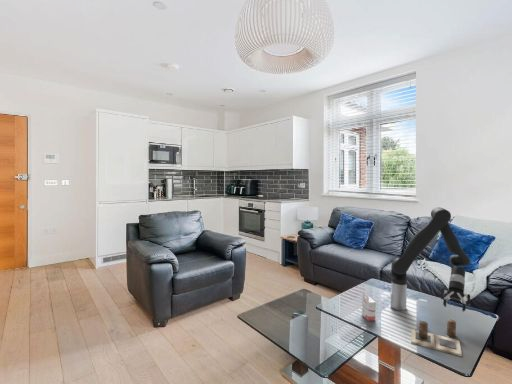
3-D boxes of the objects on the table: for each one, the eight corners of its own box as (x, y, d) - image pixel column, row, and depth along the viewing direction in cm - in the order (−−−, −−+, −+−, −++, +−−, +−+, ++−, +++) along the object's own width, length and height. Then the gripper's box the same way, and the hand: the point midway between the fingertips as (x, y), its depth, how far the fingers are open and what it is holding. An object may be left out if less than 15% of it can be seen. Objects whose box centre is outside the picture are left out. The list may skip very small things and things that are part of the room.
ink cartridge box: (375, 320, 171) (376, 297, 170) (368, 321, 171) (368, 297, 170) (369, 314, 180) (369, 291, 179) (361, 314, 179) (362, 292, 178)
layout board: (410, 342, 148) (410, 340, 148) (411, 330, 160) (412, 328, 160) (461, 356, 137) (462, 353, 137) (459, 342, 149) (459, 339, 149)
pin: (418, 337, 151) (419, 323, 150) (418, 334, 154) (419, 320, 154) (427, 340, 148) (427, 325, 148) (427, 336, 152) (427, 322, 151)
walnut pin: (447, 335, 155) (447, 321, 154) (446, 332, 158) (447, 318, 158) (455, 337, 153) (456, 323, 152) (455, 334, 156) (455, 320, 156)
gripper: (442, 277, 172) (438, 302, 163) (471, 283, 162) (469, 309, 154) (443, 283, 176) (440, 307, 168) (471, 289, 166) (469, 315, 158)
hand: (454, 308), depth 161 cm, fingers open, 8 cm apart
